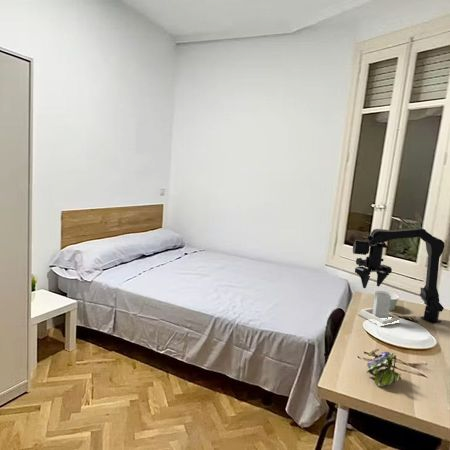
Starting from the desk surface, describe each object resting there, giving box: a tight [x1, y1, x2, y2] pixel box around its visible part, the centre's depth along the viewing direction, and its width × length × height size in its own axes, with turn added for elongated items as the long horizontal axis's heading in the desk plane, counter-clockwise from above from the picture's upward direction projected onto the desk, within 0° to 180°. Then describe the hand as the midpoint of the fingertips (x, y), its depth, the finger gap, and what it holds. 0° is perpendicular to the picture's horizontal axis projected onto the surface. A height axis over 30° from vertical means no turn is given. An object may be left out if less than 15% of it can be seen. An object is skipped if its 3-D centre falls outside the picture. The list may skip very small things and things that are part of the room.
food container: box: [373, 290, 400, 311], centre depth 185 cm, size 12×12×6 cm
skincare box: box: [372, 293, 391, 319], centre depth 168 cm, size 6×4×12 cm
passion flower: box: [365, 348, 402, 387], centre depth 120 cm, size 11×11×12 cm
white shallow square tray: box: [358, 307, 401, 324], centre depth 169 cm, size 13×13×3 cm
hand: (371, 287), depth 175 cm, fingers open, 9 cm apart
